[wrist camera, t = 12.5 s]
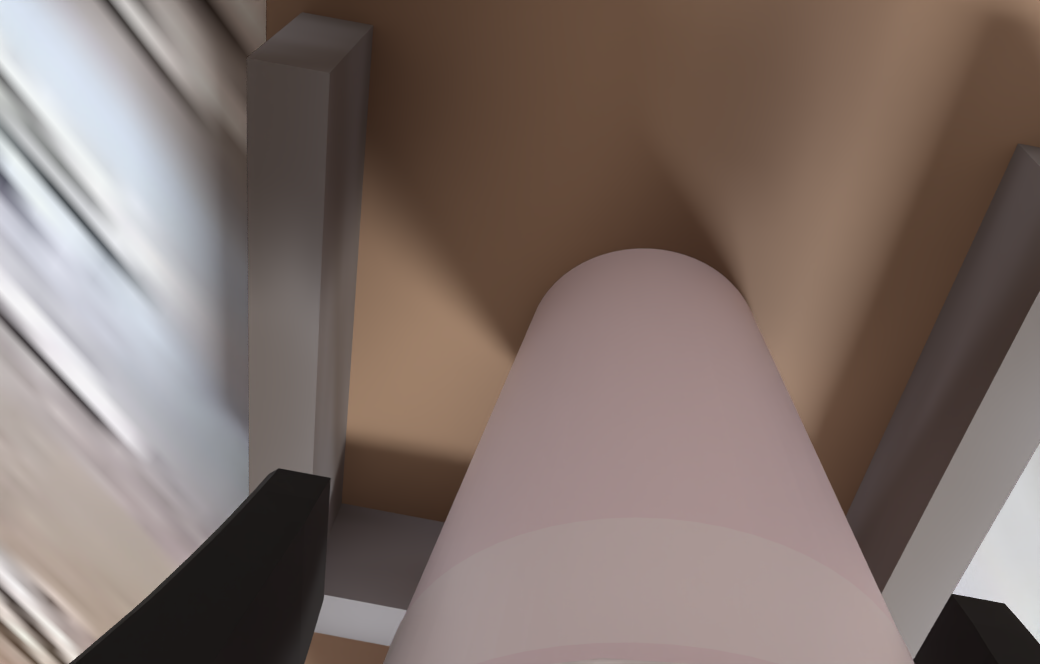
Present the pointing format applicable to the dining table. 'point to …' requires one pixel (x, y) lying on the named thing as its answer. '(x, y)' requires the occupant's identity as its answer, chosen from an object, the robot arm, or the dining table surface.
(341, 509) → the open-sided grey tray
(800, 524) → the smoothie
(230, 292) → the dining table surface
